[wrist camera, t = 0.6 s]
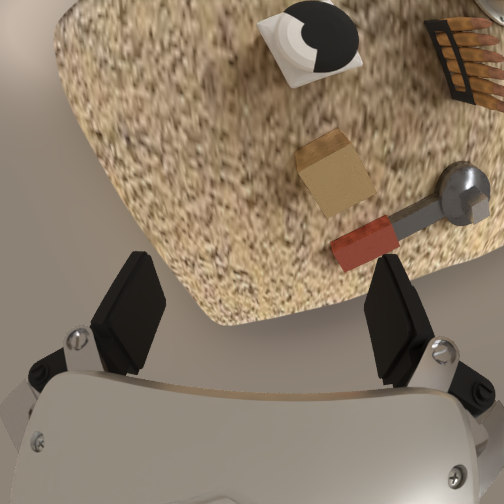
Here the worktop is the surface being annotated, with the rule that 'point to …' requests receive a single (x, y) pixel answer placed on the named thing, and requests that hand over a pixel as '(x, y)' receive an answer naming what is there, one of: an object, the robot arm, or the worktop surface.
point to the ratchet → (419, 216)
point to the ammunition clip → (468, 60)
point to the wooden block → (333, 173)
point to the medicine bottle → (311, 41)
